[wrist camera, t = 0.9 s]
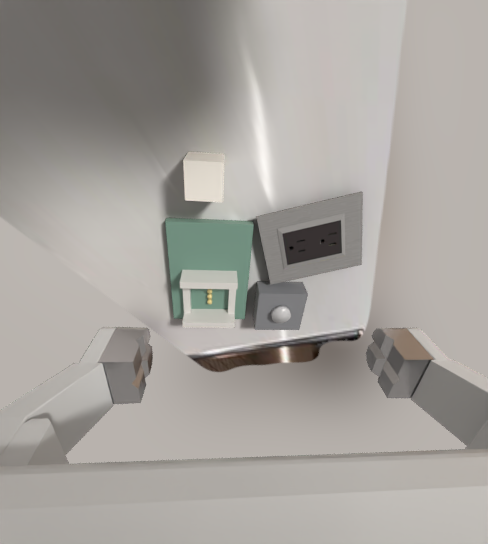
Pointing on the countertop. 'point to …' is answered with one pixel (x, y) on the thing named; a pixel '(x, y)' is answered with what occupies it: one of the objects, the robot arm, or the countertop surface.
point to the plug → (204, 176)
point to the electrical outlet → (312, 238)
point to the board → (209, 270)
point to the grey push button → (279, 305)
